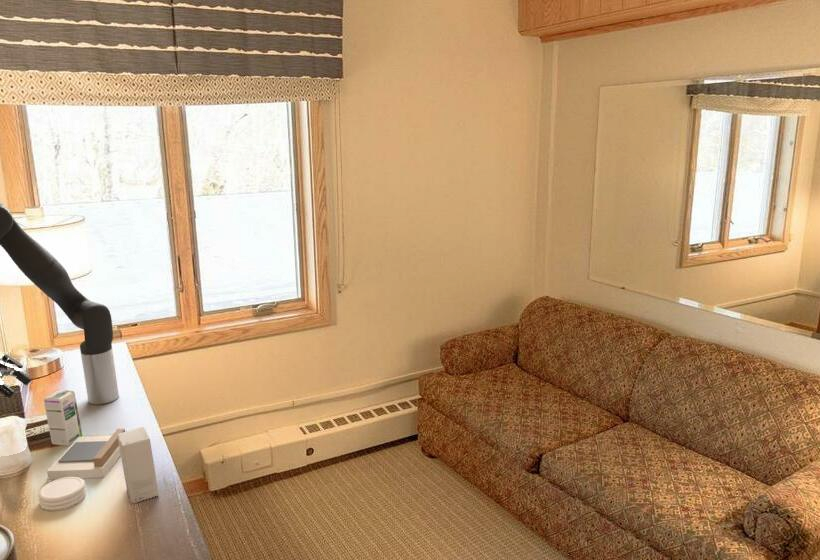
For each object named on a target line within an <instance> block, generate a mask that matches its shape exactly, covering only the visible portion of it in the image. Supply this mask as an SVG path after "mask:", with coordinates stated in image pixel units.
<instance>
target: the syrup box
mask: <svg viewBox="0 0 820 560" xmlns="http://www.w3.org/2000/svg"><path fill="white" fill-rule="evenodd" d="M43 402H44V404H43V405H44V409H45V415H46V420H47V425H48V429H49V435H50V436H49V437H50V440H51V441H50V442H51V444H52V445H57V446H68V447H70V446H71V445H72V444H73V443H74V442H75V441H76V439H77V438H78V437H83V432H82V426H81V419H80V414H79V410H78V404H77V398H76V392H75V391H73V390H65V389H63V390H62V389H61V390H60V389H59V390H56V392H54V393H52V394H50V395H48V396H46V397H44V398H43Z"/></svg>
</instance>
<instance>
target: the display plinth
mask: <svg viewBox="0 0 820 560" xmlns="http://www.w3.org/2000/svg"><path fill="white" fill-rule="evenodd" d="M123 432H126V428H117V429H116V431H115V432H113V434H112V435H97V436H95V435H94V436H82V437H78V438H77V439H76V441H75V442H73V443H72V444H70V445H69V446H68V448H67V449H66V450H65V451H64V452H63V453H62V454H61V456H59V458H58V459H57V460H56V461H55V462H54V463H53V464H52V465H51V466H50V467H49V468H48V470H46V473H47V479H48V480H49V481H54V480H57V479H60V478H65V477H78V478H81V479H96V478H97V479H100V478H105V477H106V476H107V474H108V473H109V472H110V470H111V469H112V467H114V465H115V463H116V462H117V461H118V460H119V458H121V453H120V448H119V442H118V436H117V434H119V433H123Z"/></svg>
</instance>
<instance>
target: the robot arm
mask: <svg viewBox="0 0 820 560" xmlns="http://www.w3.org/2000/svg"><path fill="white" fill-rule="evenodd" d="M0 246H1V247H2V248H3V250H4V251H5V252H6V253H7V255H8V256H9V258H10V259H11V260H12V262H13V263H14V264H15V266H16V267H17V268H18V269H19V270H20V271H21V272H22V273H23V274H24V276H26V278H27V279H29V280H30V281H31V282H32V283H33V284H34V286H35V287H37V288H38V289H39V290H41V292H42V293H44V295H46V296H47V297H48V298H50V300H52V301H53V302H55V303H56V305H57V306H58V307H59V308H60V309H61V310H62V311H63V313H64V314H65V316H66V317H67V318H68V319H69V320H70V322H71V323H72V324H73V325H74V326H76V328H79V329H80V330H81V329H82V330H83V332H84V333H83V334H84V341H82V342H80V344H79V349H80V350H79V351H80V357H81V363H82V369H83V377H84V383H85V389H86V394H87V402H88V403H89V404H90V405H96V406H97V405H104V404H109V403H112V402H114V401H116V400H117V399H118V398H119V397H120V395H119V387H118V379H117V373H116V372H117V371H116V364H115V360H114V353H113V344H112V342H113V340H114V339H113V338H114V330H113V319H112V314H111V311H110V309H109V308H108V307H107V306H106V305H104V304H103V303H98V302H95V301H92V300H90V299H88V298H87V297H86V296H84V295H83V293H81V292H80V291H79V290H78V289H77V288H76V287H75V286H74V284H73V282H72V280H71V277H70V276H69V274H68V272H67V270H66V269H65V267H64V266H63V265H62V264H61V262H59V260H58V259H56V257H55V256H54V255H52V253H50V252H49V251H48V249H46V248H45V247H44V246H42V244H40V243H39V242H38V241H37V240H35V239H34V238H33V237H32V236H30V235H29V234H28V233H27V232H26V231H25V230H24V229H23V228H22V227H21V226H20V224H19V223H18V222H17V220H15V218H14V217H13V214H12V213H11V212H10V210H9V209H8V208H7V206H6V205H5V204H4V203H2V202H0ZM23 368H24V365H23V364H22V363H20V362H19V361H17V360H16V359H14V357H12V356H11V355H9V354H7V353H4V355H3V356H2V357H0V393H1V394H2V395H4V396H5V397H7V399H8V398H10V399H11V398H12V397H13V396H14V395H15V394H16V391H15V390H14V389H12V388H11V387H9V386H8V385H7V384H6V383H4V382H3V380H2V377H4V376H6V377H7V376H12V377H15V379H16V380H18V382H21V384H22V385H25V386H28V385H29V384H30V382H32V378H31V377H30V376H28V375H27V374H26V373H25V372H23V371H22V370H23Z"/></svg>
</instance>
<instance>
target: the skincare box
mask: <svg viewBox="0 0 820 560" xmlns="http://www.w3.org/2000/svg"><path fill="white" fill-rule="evenodd" d="M117 436H118V442H119V448H120V453H121V456H120V458H121V463H122V470H123V474H124V475H123V476H124V481H125V486H126V491H127V494H128V497H129V499H130V501H131V502H130V503H131V504H137V503H140V501H141V502H143V500H144V501H146V499H147V500H150V499H153V498H155V496H156V497H159V495H160V494H159V488H158V482H157V476H156V475H157V474H156V470H155V469H156V468H155V464H154V456H153V451H152V450H153V449H152V444H151V438H150V436H149V434H148V432H147V430H146V429H145V427H144V426H141V427H138V428H135V429H131V430H127V431H126V430H125V432H123V433H119V434H117ZM152 497H153V498H152ZM149 498H150V499H149Z"/></svg>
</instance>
